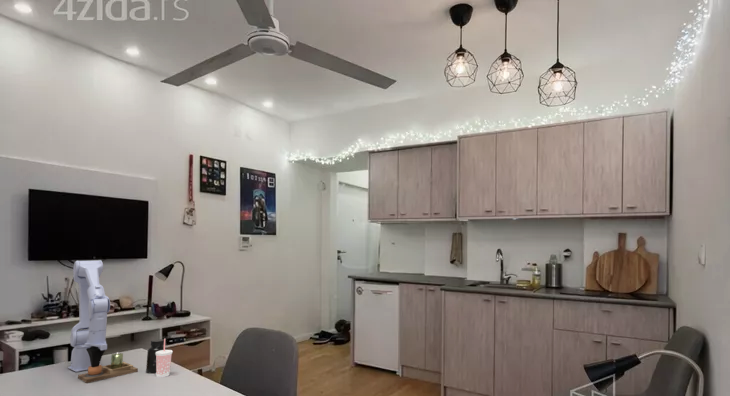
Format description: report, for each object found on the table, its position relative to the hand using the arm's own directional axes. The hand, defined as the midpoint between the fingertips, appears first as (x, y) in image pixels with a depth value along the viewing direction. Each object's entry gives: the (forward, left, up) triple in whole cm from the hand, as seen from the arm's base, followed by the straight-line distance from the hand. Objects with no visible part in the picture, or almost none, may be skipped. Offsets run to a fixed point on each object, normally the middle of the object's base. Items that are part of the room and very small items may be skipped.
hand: (95, 366), depth 162 cm
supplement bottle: (+9, +19, -4) cm, 21 cm away
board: (0, +5, -4) cm, 7 cm away
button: (0, 0, -2) cm, 2 cm away
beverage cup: (+17, +18, -4) cm, 25 cm away
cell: (0, +8, -3) cm, 8 cm away
